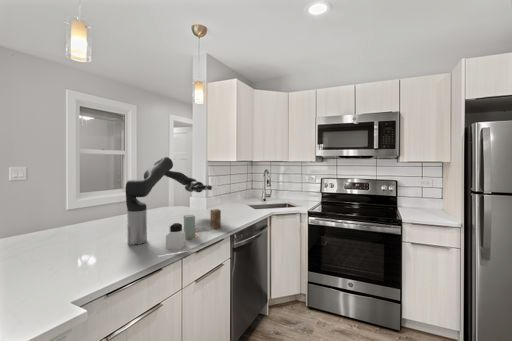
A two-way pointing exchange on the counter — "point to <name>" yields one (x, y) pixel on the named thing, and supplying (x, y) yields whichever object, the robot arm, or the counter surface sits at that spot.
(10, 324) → the counter surface
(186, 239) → the oak tile
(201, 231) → the slate tile
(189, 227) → the sage block
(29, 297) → the counter surface
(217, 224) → the walnut block
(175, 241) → the medicine bottle
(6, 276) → the counter surface
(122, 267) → the counter surface
